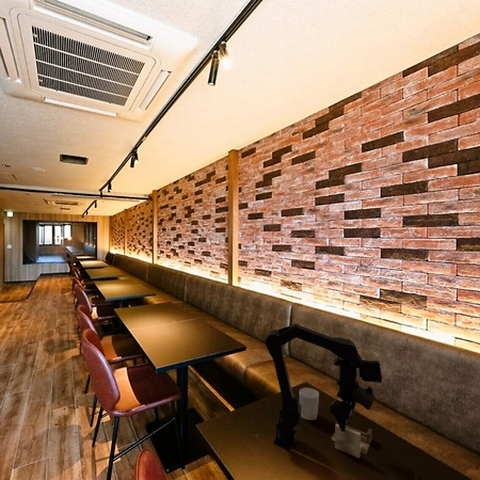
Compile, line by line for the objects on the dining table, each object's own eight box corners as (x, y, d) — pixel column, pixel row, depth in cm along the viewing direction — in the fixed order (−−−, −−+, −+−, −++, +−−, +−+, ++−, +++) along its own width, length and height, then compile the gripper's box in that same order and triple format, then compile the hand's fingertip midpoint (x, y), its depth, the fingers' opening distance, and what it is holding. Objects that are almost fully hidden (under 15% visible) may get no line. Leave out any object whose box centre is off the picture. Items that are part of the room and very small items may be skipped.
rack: (330, 441, 103) (330, 429, 103) (338, 427, 111) (339, 416, 111) (366, 456, 96) (366, 443, 96) (372, 440, 104) (372, 428, 104)
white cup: (304, 409, 123) (304, 385, 123) (321, 416, 118) (322, 392, 118) (295, 417, 117) (295, 393, 117) (313, 425, 112) (313, 400, 112)
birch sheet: (334, 448, 99) (335, 425, 99) (336, 446, 100) (336, 423, 100) (359, 459, 94) (359, 435, 94) (360, 456, 96) (360, 432, 96)
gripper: (366, 398, 86) (366, 450, 85) (378, 375, 101) (377, 419, 101) (329, 386, 92) (328, 435, 92) (345, 366, 107) (345, 408, 107)
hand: (346, 424), depth 98 cm, fingers open, 9 cm apart
